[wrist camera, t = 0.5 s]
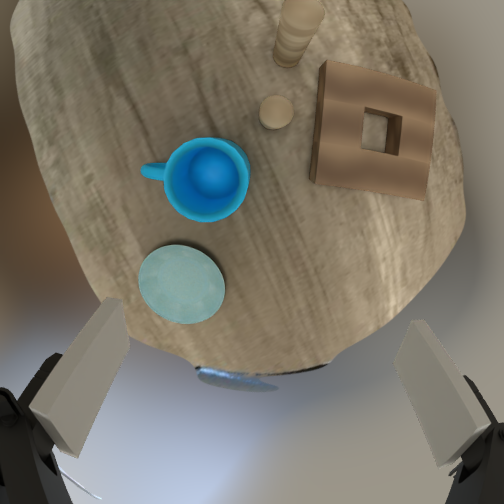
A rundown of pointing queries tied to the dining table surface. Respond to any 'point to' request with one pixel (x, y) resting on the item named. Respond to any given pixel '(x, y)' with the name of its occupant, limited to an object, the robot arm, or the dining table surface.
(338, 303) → the dining table surface
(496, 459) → the robot arm
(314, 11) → the dowel long
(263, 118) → the dowel mid
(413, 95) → the collar block
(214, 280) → the saucer
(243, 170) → the mug
